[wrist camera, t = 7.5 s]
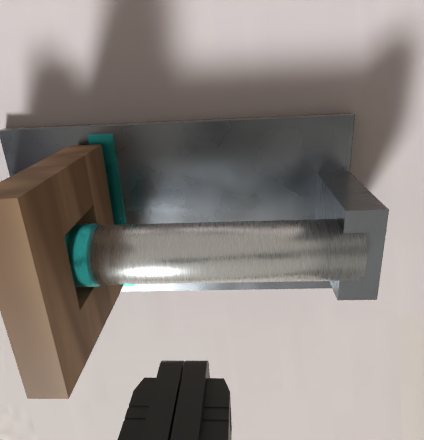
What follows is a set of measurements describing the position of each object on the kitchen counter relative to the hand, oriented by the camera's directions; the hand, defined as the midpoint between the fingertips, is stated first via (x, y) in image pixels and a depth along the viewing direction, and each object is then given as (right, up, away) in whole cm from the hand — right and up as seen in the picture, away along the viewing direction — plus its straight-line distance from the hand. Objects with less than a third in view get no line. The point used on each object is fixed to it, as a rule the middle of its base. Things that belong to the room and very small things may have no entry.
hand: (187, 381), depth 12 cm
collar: (-7, +5, +13) cm, 16 cm away
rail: (-1, +6, +14) cm, 15 cm away
